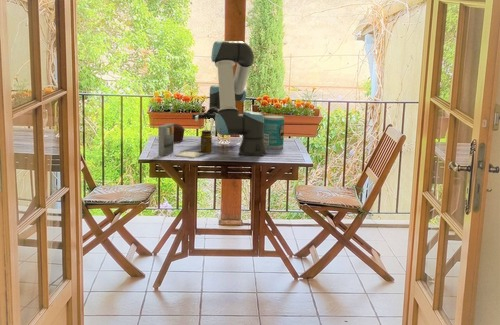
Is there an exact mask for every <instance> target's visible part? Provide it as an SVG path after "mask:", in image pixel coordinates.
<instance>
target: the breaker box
mask: <svg viewBox="0 0 500 325" xmlns="http://www.w3.org/2000/svg"><path fill="white" fill-rule="evenodd" d="M174 124H175V123H171V122H170V123H165V124H161V125H158V157H165V156H167V155H171V154H172V153H174V144H175V143H174Z"/></svg>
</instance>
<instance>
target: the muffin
mask: <svg viewBox="0 0 500 325" xmlns="http://www.w3.org/2000/svg"><path fill="white" fill-rule="evenodd" d="M173 124H174V142H175V143H178V142H179V143H180V142H183V141H184V136H185V131H186V130H185V128H184V126H182V125H181V124H179V123H173Z"/></svg>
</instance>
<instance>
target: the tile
mask: <svg viewBox="0 0 500 325" xmlns="http://www.w3.org/2000/svg"><path fill="white" fill-rule="evenodd" d="M202 155H203V153H197V152H196V151H195V152H193V151H185V150H184V151H181V152H179V153H177V154H175V157H183V158H192V159H196V158H197V157H200V156H202Z"/></svg>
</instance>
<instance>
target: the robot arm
mask: <svg viewBox="0 0 500 325" xmlns="http://www.w3.org/2000/svg"><path fill="white" fill-rule="evenodd" d="M254 59H255V54H254V51H253V49H252V47H251V46H250V45H249V44H248V43H247V42H244V41H242V40H235V41H234V40H216V41H214V43H213V44H212V49H211V62H213V63H214V66H215V67H216V68H217V78H218V80H217V81H218V84H217V85H216V84H215V85H210V87H209V105H208V106H209V108H208V110H207V111H206V112H204V113H203V112H200V113H194V114H192V120H194V122H195V123H196V122H198V121H199V120H202V119H204V120H208V119H210V118H213V119H214V121H213V122H214V123H215V129H216V132H217V134H218V135H219V136H242V139H241V143H240V145H239V149H238V153H239V155H241V156H249V157H261V156H265V155H267V148H265V144H264V141H263V136H264V116H265V115H264V114H262V112H256V111H253V110H252V111H250V110H244V111H243V112H242V113H239V112H240V111H239V109H238V108H237V107H236V102H245V101H246V100H247V90H246V89H245V88H246V83H247V80H248V76H249V73H250V68H251V66H253V65H254V61H255V60H254ZM236 63H237V64H236ZM234 66H236V69H235V72H234Z"/></svg>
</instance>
